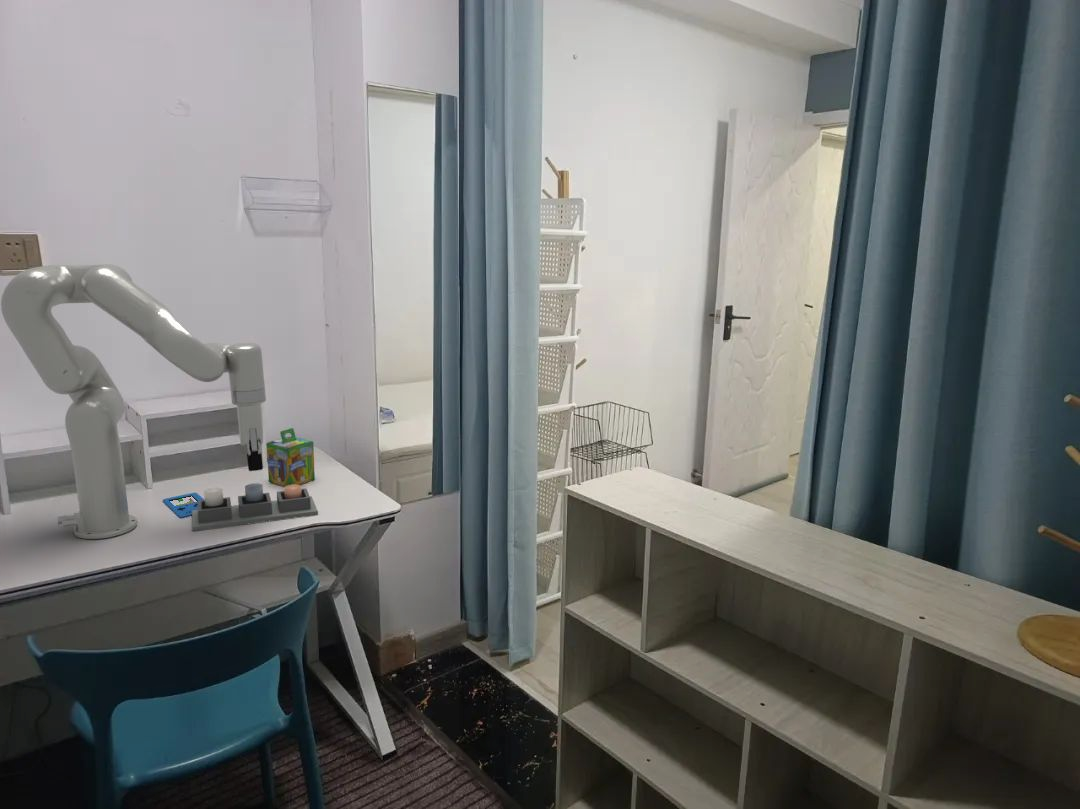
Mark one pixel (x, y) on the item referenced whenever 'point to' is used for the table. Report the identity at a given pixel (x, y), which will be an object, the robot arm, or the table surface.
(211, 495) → the ivory key
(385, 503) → the table surface
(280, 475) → the chalk box
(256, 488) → the slate key
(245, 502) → the grey socket tray
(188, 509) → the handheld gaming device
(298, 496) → the terracotta key
